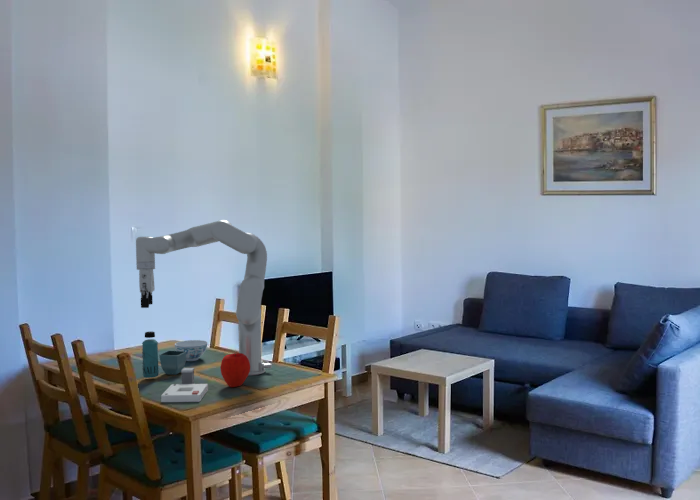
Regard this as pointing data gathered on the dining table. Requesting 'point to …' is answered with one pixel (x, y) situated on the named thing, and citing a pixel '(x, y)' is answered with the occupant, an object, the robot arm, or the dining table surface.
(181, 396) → the socket plate
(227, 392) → the dining table surface
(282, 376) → the dining table surface
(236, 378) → the apple
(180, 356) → the flower pot
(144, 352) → the beverage bottle
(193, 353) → the chinaware
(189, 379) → the plug
